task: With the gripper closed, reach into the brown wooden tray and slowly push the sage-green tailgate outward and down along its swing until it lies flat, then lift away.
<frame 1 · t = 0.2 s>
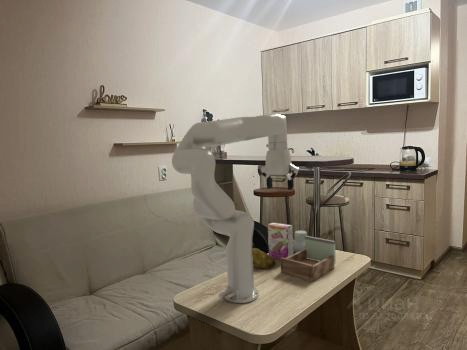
hand: (280, 188, 140), 36 cm above the table, tool pointing down, fingers open, 9 cm apart
potato: (260, 267, 154), on the table
tailgate: (319, 249, 153), point 6 cm above the table, hinge at 0.0°
air freshener: (301, 251, 172), on the table
candy bar box: (281, 258, 163), on the table
brown wooden tray: (307, 270, 147), on the table
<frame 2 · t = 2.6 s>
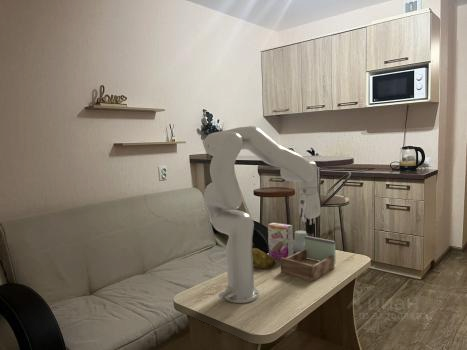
hand: (310, 233, 147), 16 cm above the table, tool pointing down, fingers closed
nothing on the table moved.
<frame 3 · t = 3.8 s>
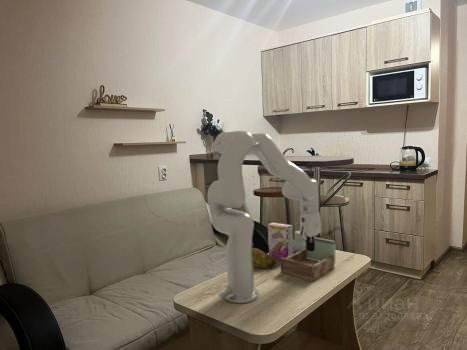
hand: (310, 250, 148), 8 cm above the table, tool pointing down, fingers closed
nothing on the table moved.
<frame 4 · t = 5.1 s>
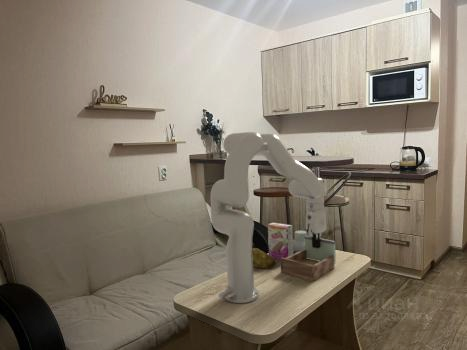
hand: (316, 247, 151), 8 cm above the table, tool pointing down, fingers closed
tailgate: (319, 249, 153), point 6 cm above the table, hinge at 0.3°, touching gripper
everything else where it was.
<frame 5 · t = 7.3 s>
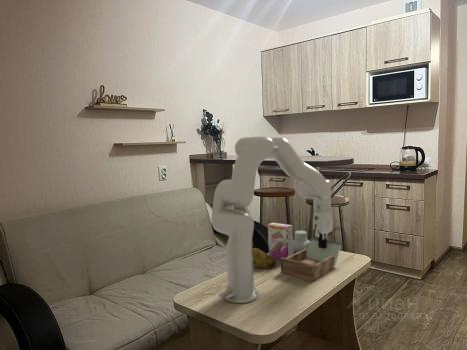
hand: (322, 247, 155), 7 cm above the table, tool pointing down, fingers closed
tailgate: (323, 250, 155), point 5 cm above the table, hinge at 36.2°, touching gripper
everything else where it was.
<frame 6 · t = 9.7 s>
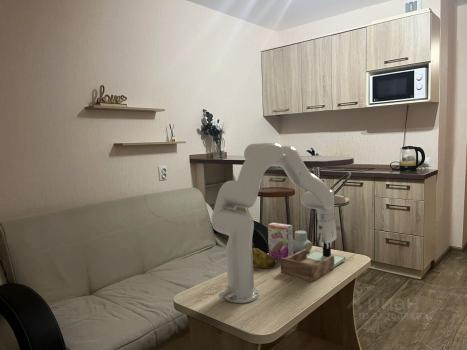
hand: (326, 255, 158), 2 cm above the table, tool pointing down, fingers closed
tailgate: (325, 258, 157), point 1 cm above the table, hinge at 87.2°, touching gripper
everything else where it was.
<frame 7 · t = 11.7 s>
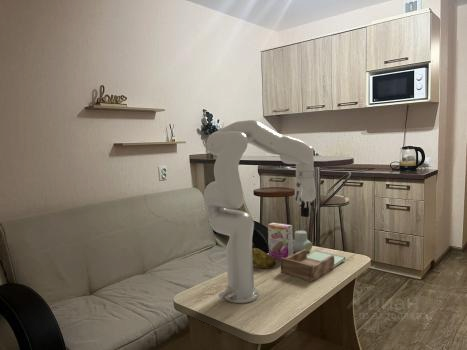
hand: (304, 216, 151), 22 cm above the table, tool pointing down, fingers closed
tailgate: (325, 258, 157), point 1 cm above the table, hinge at 87.2°
everything else where it was.
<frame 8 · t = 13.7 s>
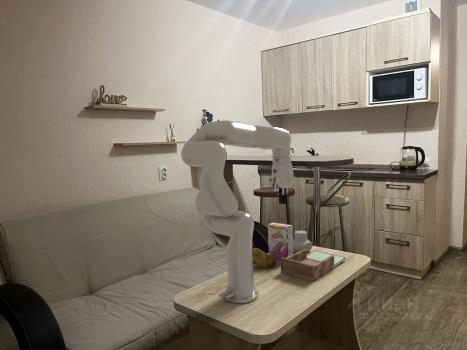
hand: (283, 203, 146), 29 cm above the table, tool pointing down, fingers closed
nothing on the table moved.
at the end: tailgate at +87° (first picture: +0°) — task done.
